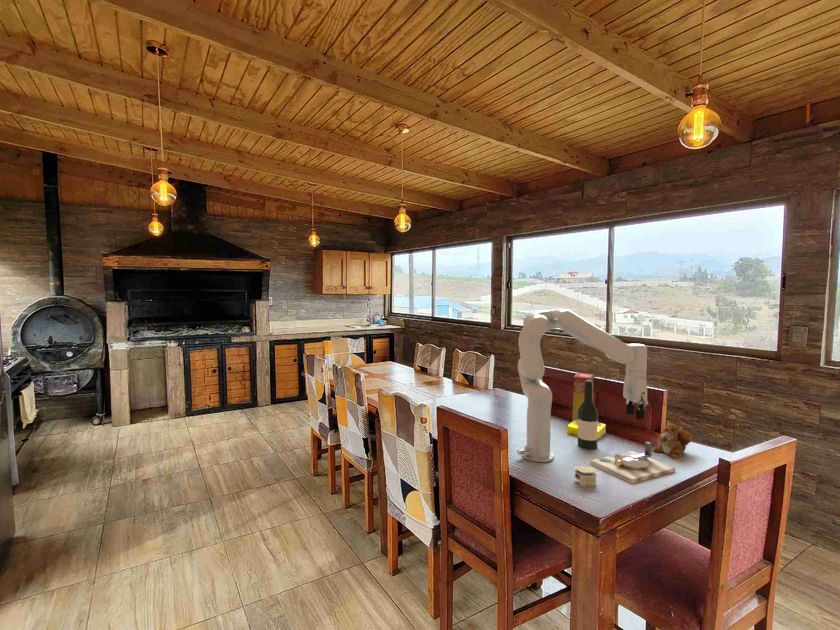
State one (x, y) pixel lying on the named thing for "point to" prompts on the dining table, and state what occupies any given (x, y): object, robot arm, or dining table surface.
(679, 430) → the stuffed squirrel
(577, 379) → the food packaging
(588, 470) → the tan layered block
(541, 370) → the robot arm
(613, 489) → the dining table surface
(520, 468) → the dining table surface
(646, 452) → the silver rounded piece
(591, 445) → the wine bottle
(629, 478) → the stand board
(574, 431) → the element tile
